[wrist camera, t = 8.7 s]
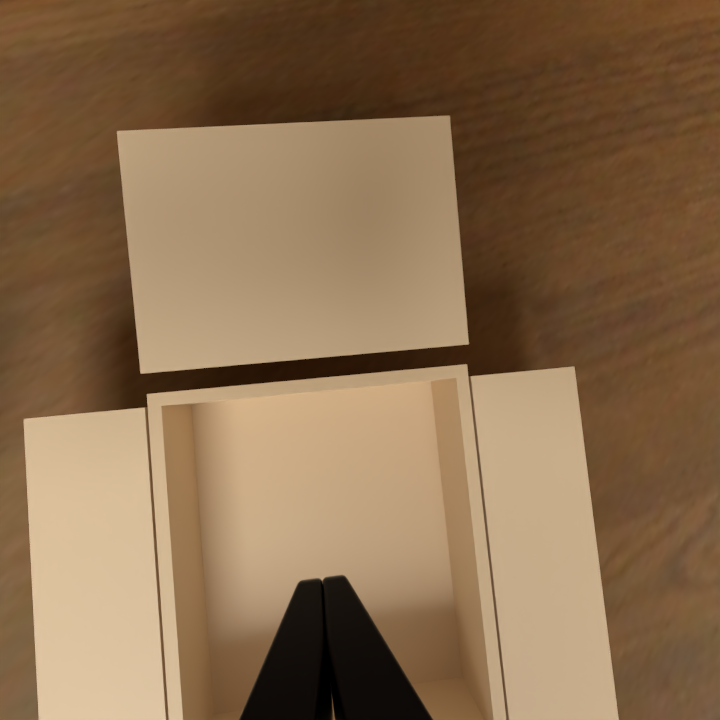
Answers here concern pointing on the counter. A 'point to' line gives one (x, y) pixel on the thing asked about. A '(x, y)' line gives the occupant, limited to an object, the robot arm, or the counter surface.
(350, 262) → the far flap
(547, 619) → the carton
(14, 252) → the counter surface
